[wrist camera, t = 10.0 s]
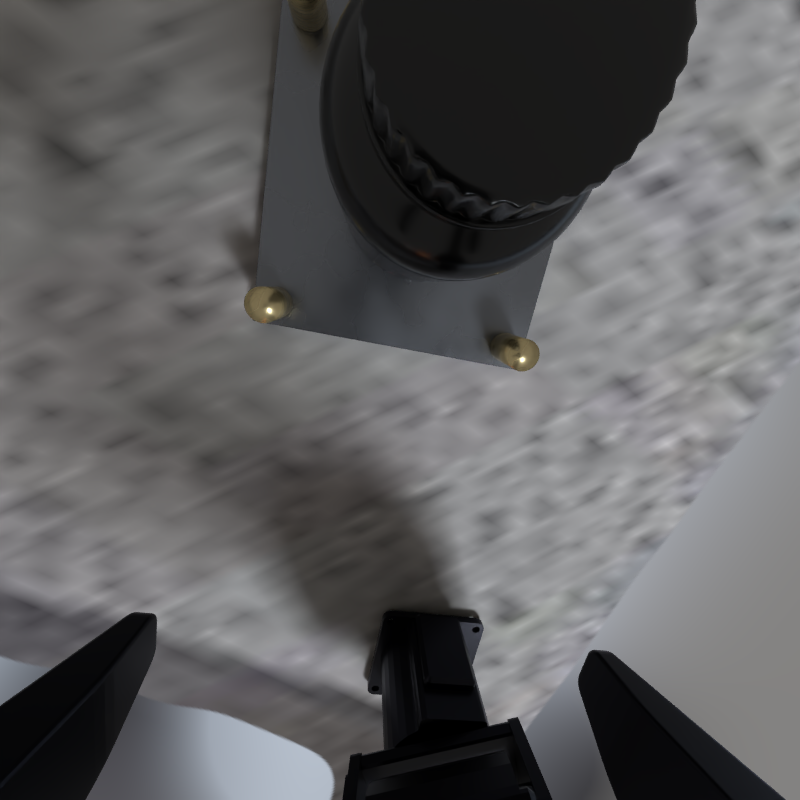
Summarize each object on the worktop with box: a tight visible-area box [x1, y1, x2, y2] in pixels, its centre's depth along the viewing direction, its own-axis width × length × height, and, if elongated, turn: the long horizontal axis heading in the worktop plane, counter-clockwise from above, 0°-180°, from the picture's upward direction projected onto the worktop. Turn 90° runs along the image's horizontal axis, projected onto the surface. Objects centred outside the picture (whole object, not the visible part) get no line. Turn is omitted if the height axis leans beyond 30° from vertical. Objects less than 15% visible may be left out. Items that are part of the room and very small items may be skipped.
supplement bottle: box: [319, 0, 697, 282], centre depth 11 cm, size 7×7×12 cm
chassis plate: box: [244, 0, 553, 371], centre depth 16 cm, size 13×13×3 cm
